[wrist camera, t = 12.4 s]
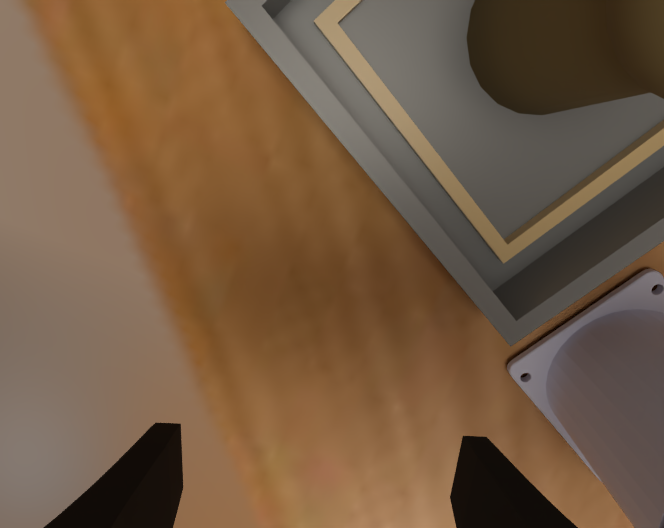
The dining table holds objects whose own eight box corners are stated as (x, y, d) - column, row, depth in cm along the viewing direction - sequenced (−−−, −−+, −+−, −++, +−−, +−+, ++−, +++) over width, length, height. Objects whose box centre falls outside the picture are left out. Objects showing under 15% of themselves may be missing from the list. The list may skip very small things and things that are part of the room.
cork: (537, -104, 16) (908, -452, 6) (664, 0, 17) (1166, -139, 7) (434, 60, 18) (581, 14, 8) (556, 144, 19) (830, 206, 9)
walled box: (817, 68, 19) (921, 62, 15) (483, 308, 22) (510, 346, 19) (617, -359, 15) (703, -493, 11) (243, 19, 18) (225, 2, 15)
